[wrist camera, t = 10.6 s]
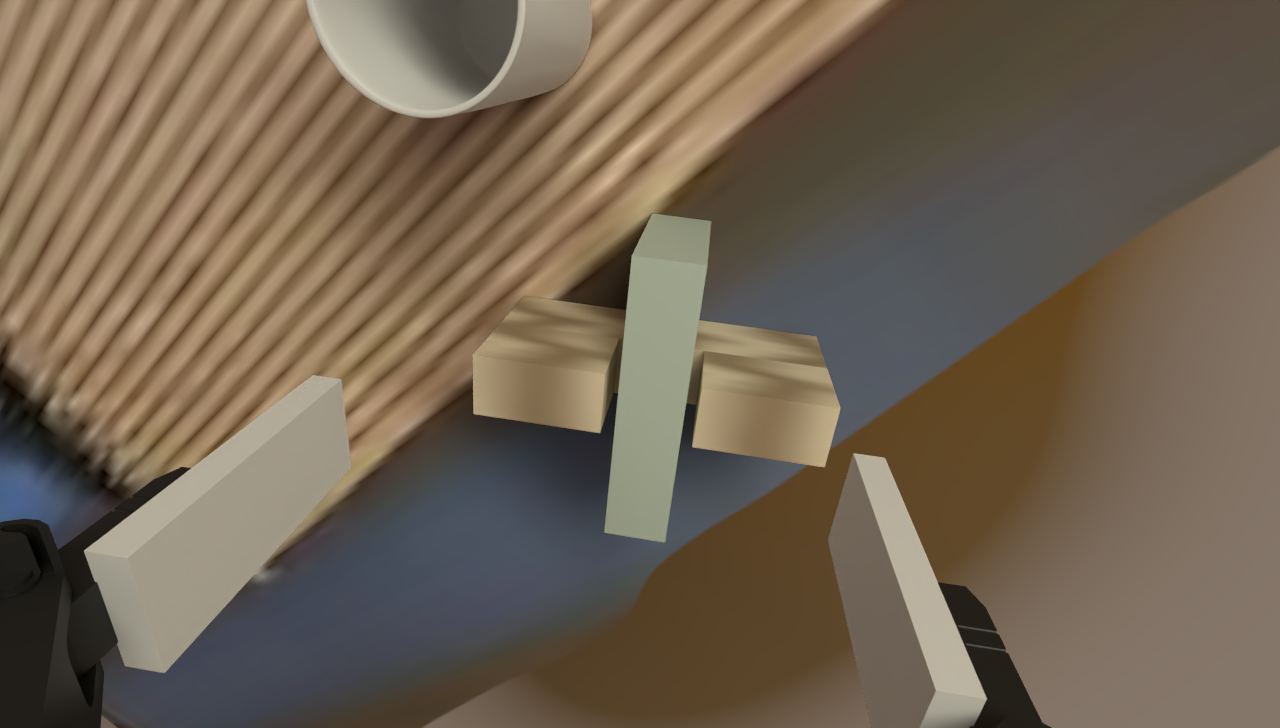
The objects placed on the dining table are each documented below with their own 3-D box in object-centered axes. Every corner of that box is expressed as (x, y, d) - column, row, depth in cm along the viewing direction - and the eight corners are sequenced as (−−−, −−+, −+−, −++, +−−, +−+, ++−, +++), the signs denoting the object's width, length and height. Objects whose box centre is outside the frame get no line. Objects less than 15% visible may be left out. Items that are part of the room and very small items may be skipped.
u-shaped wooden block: (522, 345, 37) (473, 413, 29) (524, 295, 35) (472, 354, 28) (804, 385, 35) (824, 467, 28) (816, 336, 34) (840, 408, 27)
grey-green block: (626, 445, 39) (604, 532, 31) (652, 213, 32) (631, 255, 25) (676, 452, 38) (665, 542, 31) (711, 221, 32) (707, 265, 25)
